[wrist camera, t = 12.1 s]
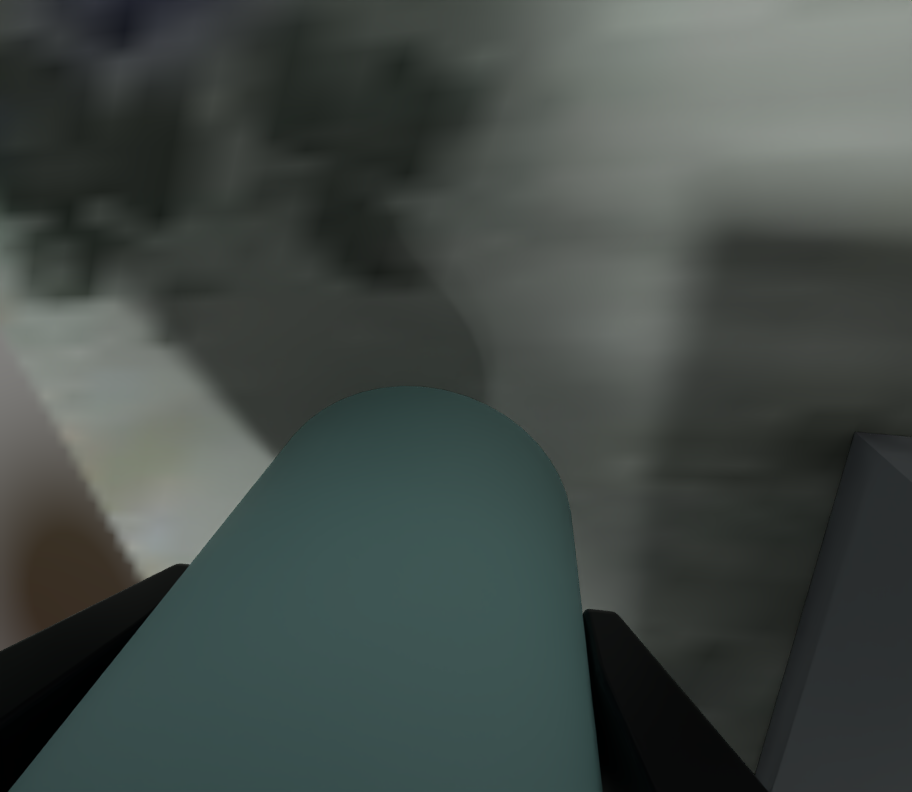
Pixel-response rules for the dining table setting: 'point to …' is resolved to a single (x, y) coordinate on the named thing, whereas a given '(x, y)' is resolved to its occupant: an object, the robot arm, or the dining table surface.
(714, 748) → the robot arm
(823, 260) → the dining table surface
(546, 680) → the teal capsule
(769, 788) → the tote
